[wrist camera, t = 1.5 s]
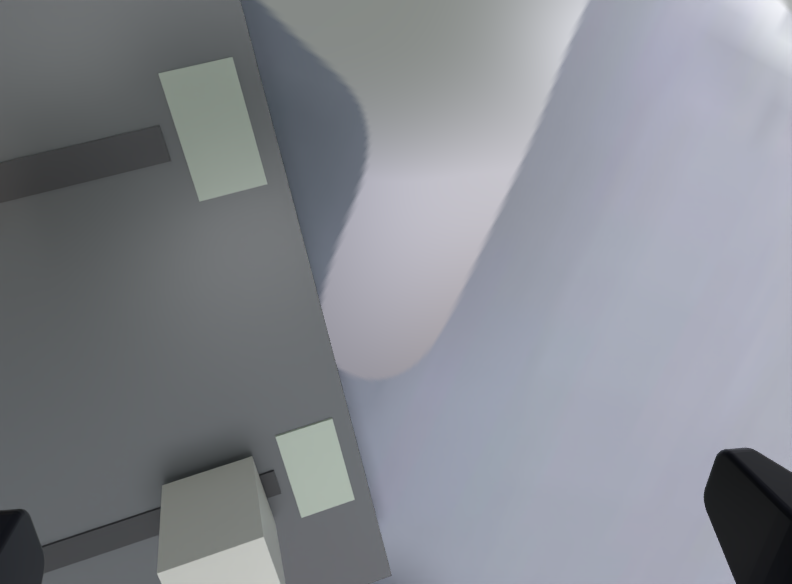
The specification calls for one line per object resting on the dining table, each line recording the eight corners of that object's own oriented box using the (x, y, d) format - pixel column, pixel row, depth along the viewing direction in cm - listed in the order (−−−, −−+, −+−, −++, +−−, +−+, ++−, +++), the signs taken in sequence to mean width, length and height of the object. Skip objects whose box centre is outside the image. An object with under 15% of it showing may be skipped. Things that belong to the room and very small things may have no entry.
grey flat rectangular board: (-126, 701, 26) (-164, 781, 24) (-629, 47, 16) (-796, 53, 14) (373, 524, 30) (392, 577, 27) (205, -105, 20) (207, -124, 17)
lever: (190, 553, 24) (190, 647, 20) (162, 485, 23) (156, 573, 19) (275, 523, 24) (290, 611, 21) (252, 455, 23) (263, 536, 20)
